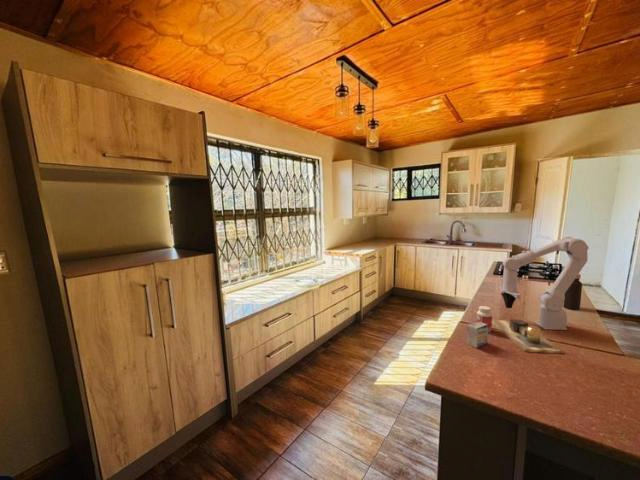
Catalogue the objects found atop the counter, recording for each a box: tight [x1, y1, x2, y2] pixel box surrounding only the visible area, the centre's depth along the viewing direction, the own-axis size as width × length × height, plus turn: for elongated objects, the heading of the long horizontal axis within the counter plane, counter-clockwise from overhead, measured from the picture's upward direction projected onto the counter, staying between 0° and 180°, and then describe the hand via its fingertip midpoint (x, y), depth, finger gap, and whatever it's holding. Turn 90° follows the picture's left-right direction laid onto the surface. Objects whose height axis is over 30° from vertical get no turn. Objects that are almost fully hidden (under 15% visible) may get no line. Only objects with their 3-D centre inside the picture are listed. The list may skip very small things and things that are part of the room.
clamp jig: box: [492, 319, 564, 354], centre depth 118 cm, size 14×28×5 cm, turn 172°
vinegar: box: [562, 273, 583, 311], centre depth 146 cm, size 7×7×20 cm
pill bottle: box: [476, 305, 493, 333], centre depth 124 cm, size 6×6×11 cm
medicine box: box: [466, 321, 489, 349], centre depth 112 cm, size 8×4×9 cm, turn 118°
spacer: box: [527, 325, 541, 344], centre depth 110 cm, size 4×4×6 cm
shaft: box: [509, 318, 527, 336], centre depth 119 cm, size 5×9×4 cm, turn 172°
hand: (508, 307), depth 132 cm, fingers closed
